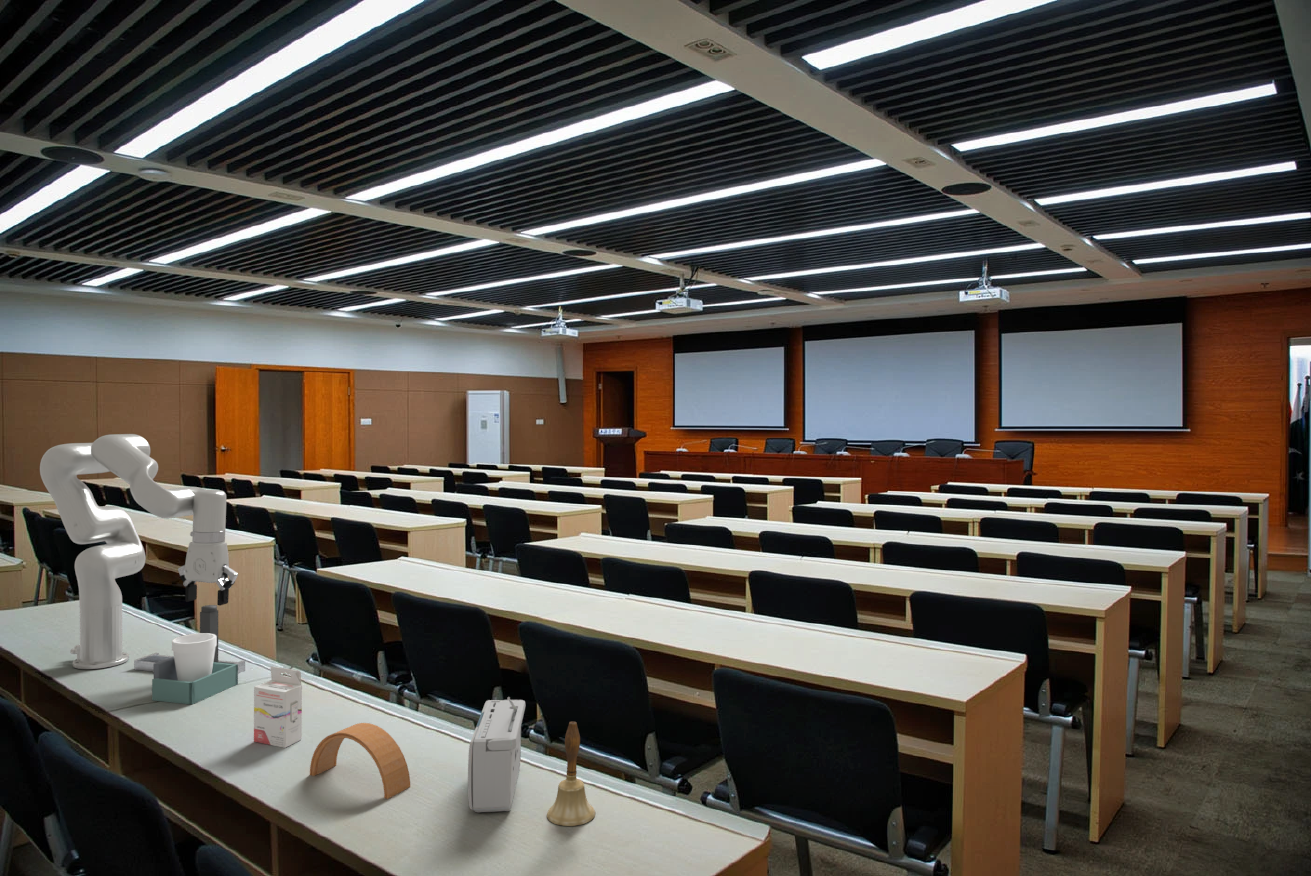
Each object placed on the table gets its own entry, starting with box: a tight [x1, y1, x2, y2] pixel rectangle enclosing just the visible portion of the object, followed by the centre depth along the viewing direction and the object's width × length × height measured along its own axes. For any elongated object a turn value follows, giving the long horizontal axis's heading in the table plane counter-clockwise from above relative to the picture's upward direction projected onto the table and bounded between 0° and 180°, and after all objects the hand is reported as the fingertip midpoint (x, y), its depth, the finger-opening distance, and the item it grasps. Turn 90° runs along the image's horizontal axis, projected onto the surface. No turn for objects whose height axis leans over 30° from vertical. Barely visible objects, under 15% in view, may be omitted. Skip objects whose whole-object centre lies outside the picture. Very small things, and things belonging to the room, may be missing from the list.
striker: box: [153, 604, 219, 680], centre depth 207 cm, size 5×21×17 cm, turn 167°
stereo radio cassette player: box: [467, 696, 526, 814], centre depth 151 cm, size 21×8×20 cm, turn 4°
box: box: [151, 662, 239, 705], centre depth 200 cm, size 11×15×5 cm
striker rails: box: [133, 652, 246, 674], centre depth 217 cm, size 28×7×2 cm, turn 77°
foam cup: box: [171, 632, 217, 682], centre depth 201 cm, size 10×9×13 cm
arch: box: [309, 722, 411, 800], centre depth 154 cm, size 6×20×10 cm, turn 62°
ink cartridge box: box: [253, 666, 303, 749], centre depth 171 cm, size 9×5×15 cm, turn 71°
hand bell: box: [546, 721, 596, 827], centre depth 142 cm, size 8×8×16 cm
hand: (206, 602), depth 216 cm, fingers open, 9 cm apart
